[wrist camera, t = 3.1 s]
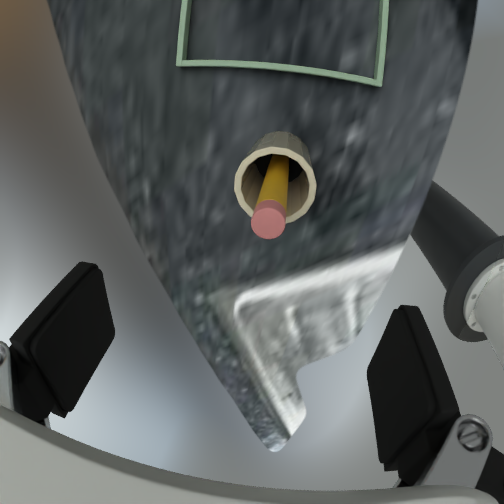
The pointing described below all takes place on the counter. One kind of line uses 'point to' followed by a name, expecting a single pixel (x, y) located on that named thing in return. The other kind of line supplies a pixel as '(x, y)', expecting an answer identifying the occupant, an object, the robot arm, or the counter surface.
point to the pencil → (272, 200)
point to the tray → (375, 82)
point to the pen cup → (252, 180)
